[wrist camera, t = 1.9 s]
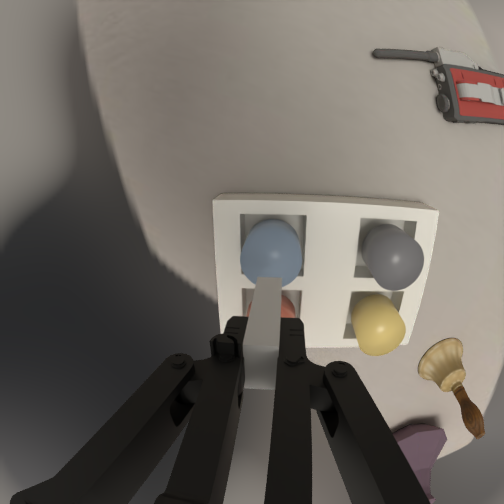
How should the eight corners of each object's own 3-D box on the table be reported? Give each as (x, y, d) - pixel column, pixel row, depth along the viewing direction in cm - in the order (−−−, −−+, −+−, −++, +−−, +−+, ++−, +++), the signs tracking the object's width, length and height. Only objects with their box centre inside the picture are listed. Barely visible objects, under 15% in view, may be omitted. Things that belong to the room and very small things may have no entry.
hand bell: (468, 333, 32) (517, 405, 17) (452, 373, 35) (487, 444, 20) (425, 341, 33) (469, 426, 18) (411, 382, 36) (441, 462, 21)
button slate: (245, 218, 26) (239, 230, 22) (300, 219, 26) (303, 232, 22) (246, 268, 28) (240, 287, 24) (298, 270, 27) (300, 289, 24)
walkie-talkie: (496, 64, 19) (367, 48, 22) (516, 59, 15) (379, 34, 18) (509, 127, 22) (385, 123, 25) (530, 128, 18) (401, 120, 21)
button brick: (247, 291, 29) (241, 312, 25) (296, 293, 28) (298, 314, 24) (247, 331, 30) (243, 354, 27) (293, 333, 30) (294, 357, 26)
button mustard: (354, 294, 28) (363, 315, 24) (398, 294, 27) (411, 314, 23) (347, 333, 29) (353, 356, 26) (388, 332, 29) (398, 354, 25)
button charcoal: (364, 222, 25) (376, 235, 21) (410, 225, 24) (428, 237, 21) (358, 271, 27) (368, 290, 23) (402, 272, 26) (417, 290, 22)
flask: (399, 458, 45) (412, 527, 26) (351, 449, 44) (359, 533, 25) (454, 418, 39) (481, 491, 21) (414, 404, 38) (443, 498, 19)
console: (221, 193, 29) (212, 200, 26) (422, 202, 27) (439, 210, 23) (227, 323, 35) (221, 343, 31) (397, 325, 33) (407, 344, 29)
